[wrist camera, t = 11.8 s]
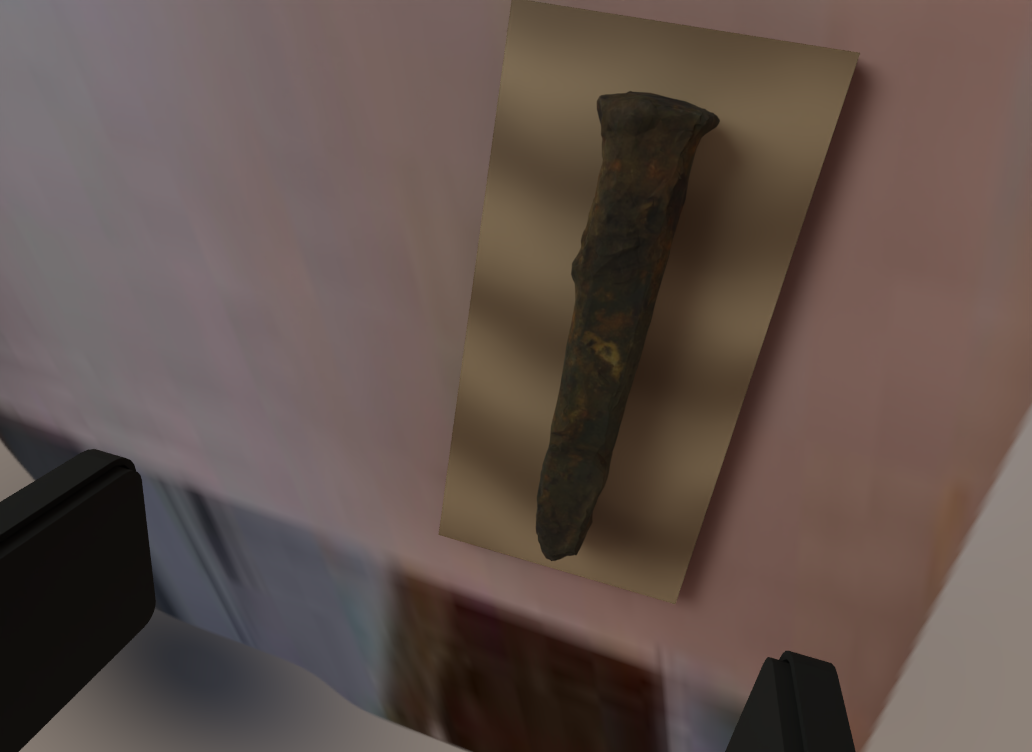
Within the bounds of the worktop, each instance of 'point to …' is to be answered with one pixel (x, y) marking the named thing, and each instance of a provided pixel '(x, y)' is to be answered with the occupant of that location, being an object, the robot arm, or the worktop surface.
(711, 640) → the worktop surface
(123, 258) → the worktop surface
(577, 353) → the hand tool
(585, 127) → the board
